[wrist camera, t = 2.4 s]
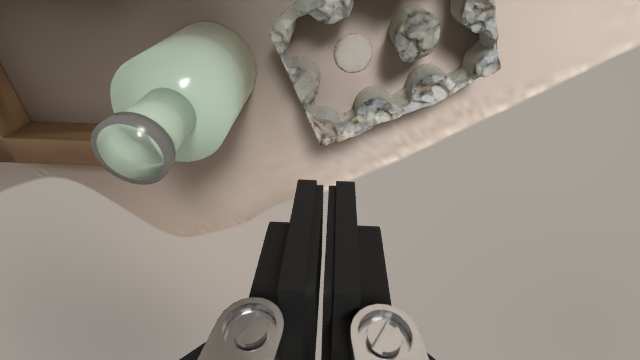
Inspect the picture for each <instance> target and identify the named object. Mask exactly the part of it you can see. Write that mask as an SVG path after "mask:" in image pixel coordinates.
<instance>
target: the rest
mask: <svg viewBox="0 0 640 360" xmlns="http://www.w3.org/2000/svg"><path fill="white" fill-rule="evenodd" d="M97 125H98V124H87V123H56V122H31V121H30V120H29V118H28V116H27V114H26V112H25V110H24V108H23V106H22V104H21V102H20V100H19V99H18V97H17V95H16V93H15V91H14V89H13V87H12V85H11V83H10V81H9V79H8V78H7V76H6V74H5V72H4V70H3V68H2V66H1V64H0V162H18V163H46V164H74V165H102V164H101V163H100V162H99V161H98V159H97V158H96V156H95V154H94V152H93V150H92V146H91V135H92V132H93V130H94V128H95V127H96V126H97Z"/></svg>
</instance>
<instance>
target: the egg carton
mask: <svg viewBox="0 0 640 360" xmlns="http://www.w3.org/2000/svg"><path fill="white" fill-rule="evenodd" d="M353 5H354V0H299V1H297V2H296V3H294V4H292V5H291V6H289V7H288V8H287V9H286V10H285V11H284V12H283V13H282V15H281V16H280V18H279V19H278V20H277V22H276V23H275V25H274V26H273V28H272V29H271V30H270V31H269V32H270V36H271V38H272V40H273V43H274V45H275V47H276V50H277V52H278V54H279V56H280V58H281V60H282V62H283V64H284V67H285V69H286V71H287V73H288V76H289V78H290V80H291V82H292V84H293V86H294V89H295V91H296V93H297V95H298V97H299V100H300V102H301V104H302V105H303V107H304V109H305V112H306V114H307V117H308V120H309V122H310V124H311V126H312V128H313V130H314V132H315V135H316V137H317V139H318V141H319V143H320V145H322V146H323V145H328V144H330V143H333V142H336V143H338V142H340V141H343V140H345V139H347V138H350V137H355V136H357V135H359V134H362V133H364V132H366V131H368V130H371V128H372V127H373V126H374V125H376V124H379V123H382V122H386V121H390V120H394V119H398V118H399V117H401V116H402V115H403V114H406V113H409V112H412V111H415V110H417V109H420V108H423V107H427V106H431V105H434V104H436V103H437V102H439V101H441V100H443V99H445V98H447V97H448V96H450V95H452V94H454V93H455V92H456V91H458V90H459V89H461V88H463V87H466V86H467V85H469V84H470V83H472V82H473V81H474V80H475V79H477V78H478V77H481V76H482V77H487V76H490V75H492V74H494V73H495V72H497V71H498V70H499V69H500V68H501V66H500V60H499V58H498V52H497V39H498V31H497V27H496V20H495V2H494V0H451V1H450V12H451V14H452V16H453V18H454V19H455V20H456V21H458V22H459V23H461V24H462V25H464V26H466V27H467V28H469V29H470V30H471V31H472V32H474V33H479V40H478V41H477V42H476V43H475V44H474V45H472V46H471V47H470V48H469V49H468V50H467V52H466V53H465V55H464V57H463V61H462V67H460V68H459V69H457V70H455V71H453V72H450V73H446V74H445V73H444V72H443V71H442V69H441V68H439V67H438V66H436V65H434V64H431V63H430V64H422V65H420V66H418V67H416V68H415V69H414V70H413V71H412V72H411V73H410V74H409V76H408V79H407V82H406V87H405V88H403V89H401V90H399V91H398V92H396V93H394V94H393V95H389V93H388V92H387V91H386V90H385V89H384V88H381V87H378V86H369V87H366V88H364V89H363V90H362V91H360V92H359V93H358V95H357V96H356V99H355V103H354V109H353V110H351V111H349V112H346V113H338V112H337V111H336V110H335V109H333V108H332V107H329V106H316V105H315V103H314V101H313V100H314V98H315V96H316V95H317V93H318V89H319V83H320V71H319V69H318V67H317V65H316V64H315V63H314V62H313V61H312V60H311V59H309V58H306V57H294V58H293V57H292V55H291V54H290V50H289V48H288V46H289V43H290V39H291V36H292V34H293V32H294V30H295V27H296V19H297V18H298V17H301V16H303V15H306V14H309V15H311V16H312V17H313V18H314V19H316V20H317V21H318V22H320V23H322V24H324V25H325V24H335V23H337V22H339V21H341V20H343V19H344V18H349V16H350V13H351V10H352V8H353ZM389 35H390V38H391V40H392V43H393V45H394V46H395V49H396V51H397V53H398V55H399V56H400V58H401V60H402V61H404V62H405V63H413V62H414V61H416V60H417V59H419V58H422V57H425V56H427V55H429V54H430V53H432V52H433V50H434V48H435V47H436V45H437V43H438V41H439V38H440V25H439V21H438V20H437V19H436V18H435V17H434V16H433V15H432V14H431V13H430V12H428V11H426V10H425V9H423V8H421V7H419V6H416V5H410V6H406V7H404V8H402V9H400V10H399V11H398V12H397V13H396V15H395V16H394V18H393V20H392V22H391V24H390V27H389ZM372 55H373V48H372V45H371V43H370V41H369V40H368V39H367V38H366V37H365V36H364V35H361V34H358V33H351V34H347V35H345V36H343V37H342V38H341V39H340V40H339V41H338V42H337V44H336V47H335V50H334V59H335V62H336V63H337V65H338V66H339V67H340V68H341V69H342V70H344V71H346V72H350V73H354V72H359V71H361V70H363V69H364V68H365V67H367V66H368V64H369V63H370V61H371V59H372Z"/></svg>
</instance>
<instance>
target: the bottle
mask: <svg viewBox="0 0 640 360" xmlns="http://www.w3.org/2000/svg"><path fill="white" fill-rule="evenodd" d="M255 82H256V65H255V61H254V57H253V55H252V53H251V51H250V49H249V47H248V46H247V45H246V43H245V42H244V41H243V40H242V39H241V37H240V36H238V35H237V34H236V33H235V32H233V31H232V30H230V29H229V28H227V27H225V26H223V25H220V24H217V23H213V22H197V23H193V24H191V25H188V26H187V27H185V28H183V29H181V30H180V31H178V32H176V33H175V34H173V35H171V36H169V37H168V38H166V39H164V40H163V41H161V42H159V43H157V44H156V45H154V46H152V47H150V48H149V49H147V50H145V51H144V52H142V53H140V54H138V55H137V56H135V57H133V58H132V59H130V60H128V61H126V62H125V63H124V64H123V65H121V66H120V67H119V69H118V70H117V71H116V73H115V75H114V77H113V79H112V82H111V88H110V99H111V105H112V108H113V111H114V114H112V115H110V116H109V117H107V118H106V119H105V120H103V121H102V122H101V123H100V124H98V125H97V126H96V127H95V128H94V130H93V132H92V135H91V146H92V150H93V152H94V154H95V156H96V158H97V159H98V161H99V162H100V163H101V164H102V166H103V167H104V168H105V169H107V170H108V171H109V172H110V173H112V174H113V175H115V176H116V177H118V178H120V179H122V180H125V181H127V182H131V183H135V184H152V183H155V182H158V181H160V180H161V179H162V178H163V177H164V176H165V175H166V174H167V172H168V171H169V170H170V168H171V167H172V166H173V164H174V162H175V161H178V162H192V161H198V160H201V159H204V158H206V157H208V156H210V155H211V154H213V153H214V152H215V151H216V150H217V149H218V148H219V147H220V146H221V144H222V142H223V141H224V139H225V137H226V135H227V134H228V132H229V130H230V129H231V127H232V125H233V123H234V122H235V120H236V118H237V116H238V115H239V113H240V111H241V109H242V108H243V106H244V104H245V103H246V101H247V99H248V97H249V96H250V94H251V92H252V90H253V88H254V86H255Z"/></svg>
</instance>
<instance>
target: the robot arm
mask: <svg viewBox="0 0 640 360" xmlns="http://www.w3.org/2000/svg"><path fill="white" fill-rule="evenodd" d="M322 224H323V185H317V181H316V180H298V183H297V188H296V193H295V199H294V204H293V209H292V214H291V219H290V223H288V222H270V223H269V226H268V229H267V232H266V236H265V240H264V244H263V247H262V251H261V254H260V259H259V262H258V266H257V269H256V273H255V277H254V280H253V284H252V288H251V292H250V295H249V298H246V299H241V300H239V301H237V302H235V303H233V304H232V305H230V306H229V307H228V308H227V309H226V310H224V311H223V313H222V314H221V316H220V317H219V319H218V320H217V322H216V324H215V326H214V328H213V330H212V332H211V334H210V336H209V338H208V340H207V342H205V343H204V344H202V345H201V346H199V347H198V348H196V349H195V350H193V351H192V352H190V353H189V354H187V355H186V356H184V357H183V358H181V359H180V360H315V351H316V336H317V320H318V305H319V290H320V275H321V274H320V273H321V259H322ZM321 360H435V359H434V358H433V357H432V356H430V355H429V354H428V353H427V352H426V350H425V347H424V344H423V341H422V339H421V336H420V333H419V331H418V329H417V327H416V325H415V323H414V321H413V320H412V319H411V318H410V317H409V316H408V315H407V314H406V313H404V312H403V311H401V310H400V309H398V308H396V307H393V306H391V300H390V293H389V286H388V279H387V273H386V265H385V258H384V251H383V244H382V237H381V231H380V227H376V226H357V214H356V196H355V182H346V181H336V186H329V198H328V216H327V235H326V253H325V273H324V294H323V325H322V358H321Z"/></svg>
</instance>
